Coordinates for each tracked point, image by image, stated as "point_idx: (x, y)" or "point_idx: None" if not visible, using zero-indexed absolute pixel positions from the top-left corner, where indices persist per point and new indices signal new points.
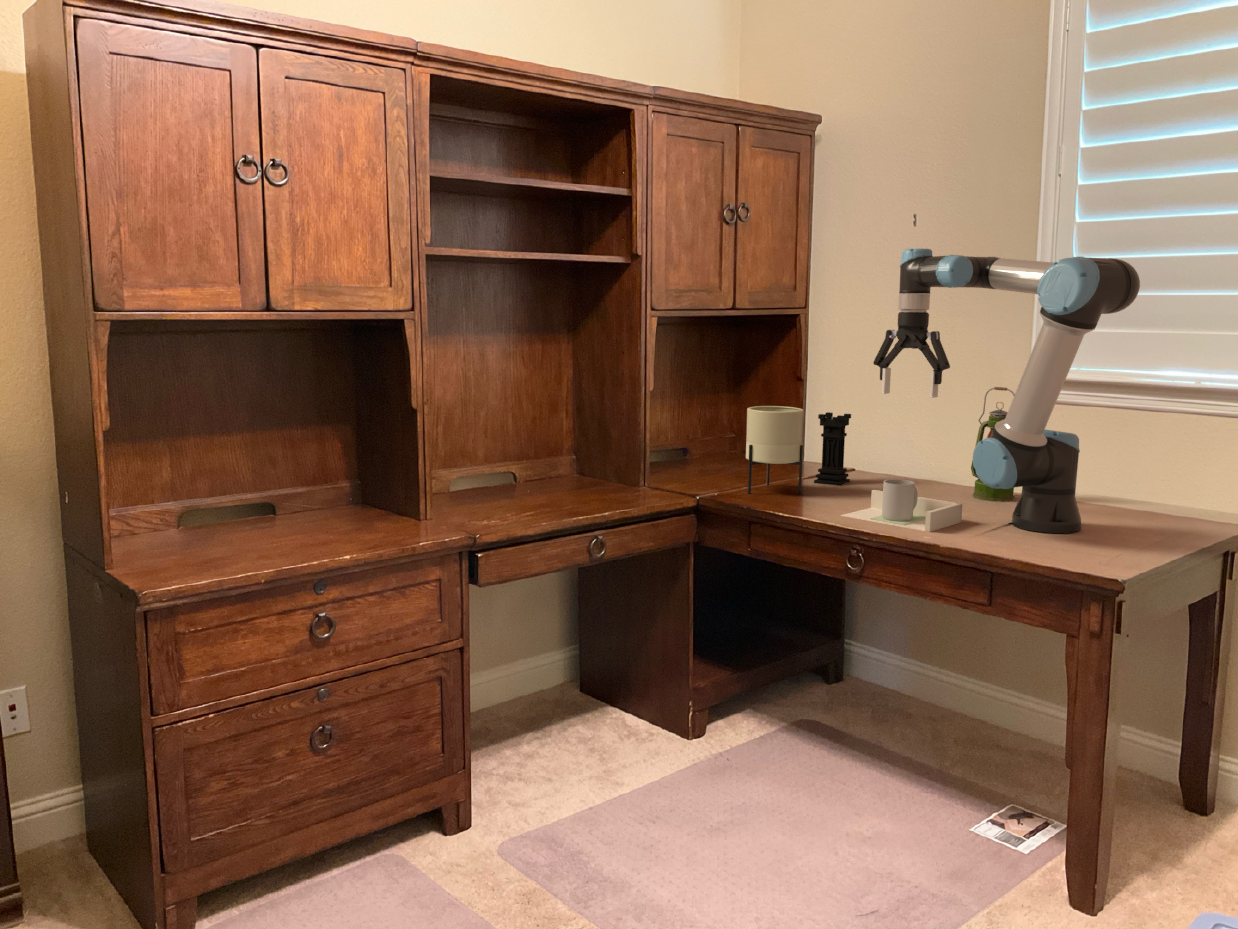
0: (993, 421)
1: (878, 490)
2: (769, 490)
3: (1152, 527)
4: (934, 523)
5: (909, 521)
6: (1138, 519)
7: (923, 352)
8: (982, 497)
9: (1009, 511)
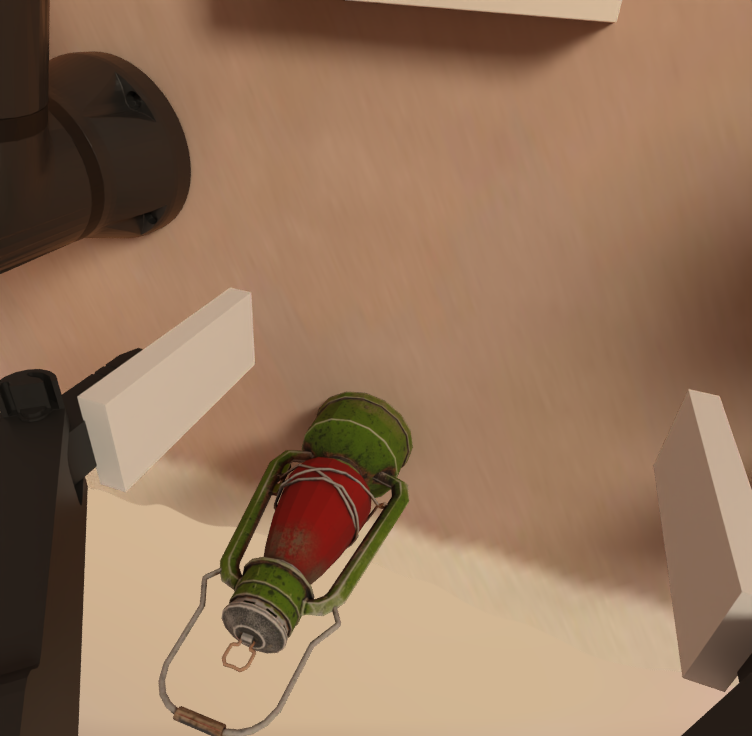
0: (269, 583)
1: (591, 16)
2: None
3: (17, 294)
4: None
5: None
6: (71, 356)
7: (23, 627)
8: (370, 400)
9: (262, 288)
